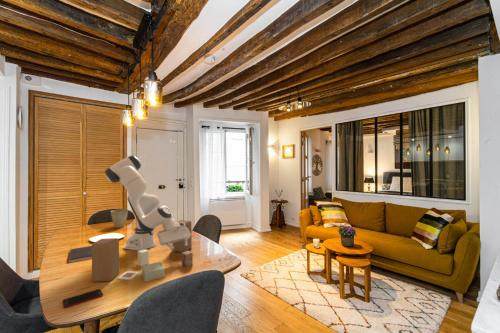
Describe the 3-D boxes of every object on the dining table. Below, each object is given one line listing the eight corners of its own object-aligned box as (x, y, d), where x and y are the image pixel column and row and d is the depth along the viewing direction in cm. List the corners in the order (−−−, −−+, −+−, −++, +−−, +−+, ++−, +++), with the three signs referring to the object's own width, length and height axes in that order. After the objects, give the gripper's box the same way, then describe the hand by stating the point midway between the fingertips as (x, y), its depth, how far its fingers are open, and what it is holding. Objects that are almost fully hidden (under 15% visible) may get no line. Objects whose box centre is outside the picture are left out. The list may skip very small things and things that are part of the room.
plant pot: (107, 228, 229) (107, 211, 229) (118, 224, 244) (118, 208, 244) (121, 229, 227) (121, 212, 226) (131, 225, 241) (131, 209, 241)
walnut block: (181, 266, 145) (181, 252, 145) (188, 263, 148) (188, 250, 148) (186, 268, 142) (186, 254, 142) (192, 265, 145) (192, 252, 145)
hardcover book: (97, 248, 178) (96, 244, 178) (98, 258, 159) (98, 254, 159) (69, 252, 169) (69, 249, 169) (67, 263, 150) (67, 260, 150)
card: (117, 279, 129) (117, 277, 129) (126, 272, 137) (126, 270, 137) (131, 279, 128) (131, 278, 128) (139, 273, 136) (139, 271, 136)
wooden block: (101, 273, 135) (101, 238, 135) (120, 272, 136) (119, 237, 136) (91, 282, 125) (90, 244, 125) (111, 281, 126) (111, 243, 126)
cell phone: (62, 301, 109) (62, 299, 108) (100, 290, 118) (100, 288, 118) (63, 309, 103) (63, 307, 103) (103, 297, 112) (103, 294, 112)
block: (192, 248, 175) (191, 220, 175) (182, 253, 166) (182, 223, 166) (181, 246, 179) (181, 219, 179) (171, 250, 170) (171, 222, 170)
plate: (99, 246, 181) (99, 243, 181) (84, 241, 193) (84, 238, 193) (129, 238, 200) (129, 235, 200) (113, 234, 213) (113, 231, 213)
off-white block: (137, 264, 148) (137, 251, 148) (145, 261, 152) (145, 249, 151) (141, 266, 145) (141, 252, 145) (148, 263, 149) (148, 250, 149)
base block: (141, 274, 134) (141, 265, 134) (160, 270, 140) (160, 261, 140) (145, 282, 126) (144, 272, 126) (164, 277, 131) (164, 268, 131)
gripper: (157, 228, 146) (166, 248, 139) (186, 222, 161) (195, 240, 154) (154, 234, 149) (162, 254, 142) (183, 228, 164) (191, 246, 157)
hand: (179, 247), depth 148 cm, fingers open, 8 cm apart
